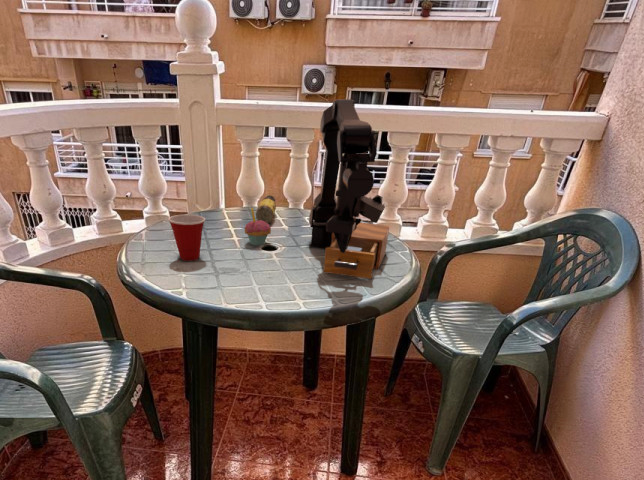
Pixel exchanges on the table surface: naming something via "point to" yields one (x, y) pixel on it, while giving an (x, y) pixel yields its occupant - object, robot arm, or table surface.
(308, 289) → the table surface
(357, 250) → the block
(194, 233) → the plastic cup
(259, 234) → the cupcake
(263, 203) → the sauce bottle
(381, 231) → the cabinet
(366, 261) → the wooden drawer
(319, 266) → the table surface
